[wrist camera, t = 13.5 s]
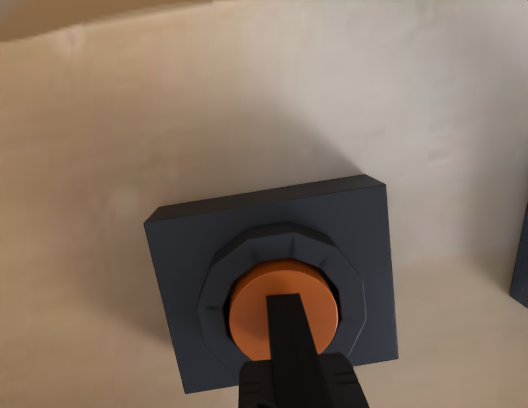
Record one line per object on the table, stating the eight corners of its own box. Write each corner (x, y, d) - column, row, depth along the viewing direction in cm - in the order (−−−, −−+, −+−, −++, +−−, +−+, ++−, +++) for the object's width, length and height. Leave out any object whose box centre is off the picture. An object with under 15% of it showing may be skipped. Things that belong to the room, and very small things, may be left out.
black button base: (365, 173, 21) (401, 191, 16) (378, 326, 23) (413, 382, 18) (158, 206, 21) (131, 235, 16) (193, 357, 23) (179, 421, 18)
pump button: (322, 245, 18) (332, 261, 16) (333, 333, 19) (343, 359, 17) (222, 261, 18) (219, 280, 16) (239, 349, 19) (238, 376, 17)
